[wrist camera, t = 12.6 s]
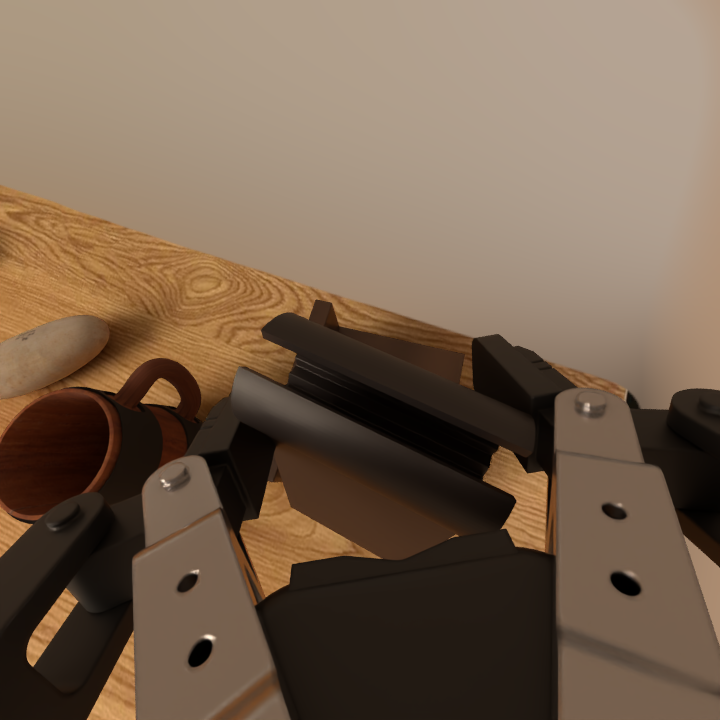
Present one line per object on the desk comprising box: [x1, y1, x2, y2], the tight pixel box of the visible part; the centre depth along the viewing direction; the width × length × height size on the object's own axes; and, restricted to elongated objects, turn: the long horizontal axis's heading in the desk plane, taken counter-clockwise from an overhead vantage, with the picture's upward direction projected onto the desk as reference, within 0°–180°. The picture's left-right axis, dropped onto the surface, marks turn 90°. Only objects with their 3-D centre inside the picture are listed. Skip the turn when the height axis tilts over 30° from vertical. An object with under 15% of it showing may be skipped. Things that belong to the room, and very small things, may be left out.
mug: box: [0, 358, 203, 524], centre depth 26 cm, size 9×12×12 cm
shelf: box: [268, 300, 465, 482], centre depth 26 cm, size 11×12×10 cm
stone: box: [0, 315, 110, 399], centre depth 33 cm, size 6×6×12 cm
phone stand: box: [231, 313, 535, 560], centre depth 13 cm, size 9×6×12 cm, turn 153°
